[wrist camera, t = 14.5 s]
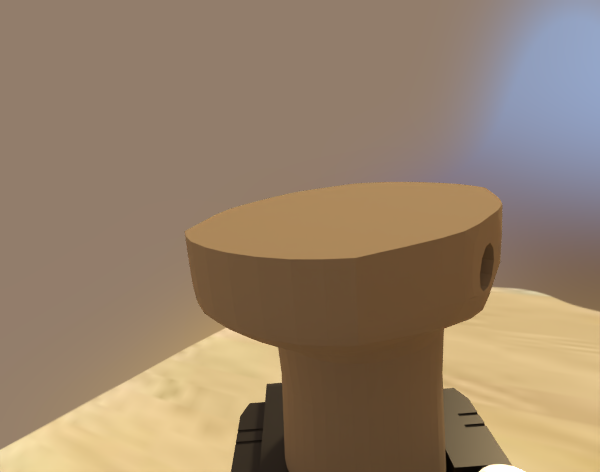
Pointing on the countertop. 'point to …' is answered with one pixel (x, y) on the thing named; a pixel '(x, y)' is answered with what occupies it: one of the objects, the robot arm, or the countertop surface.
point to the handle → (354, 309)
